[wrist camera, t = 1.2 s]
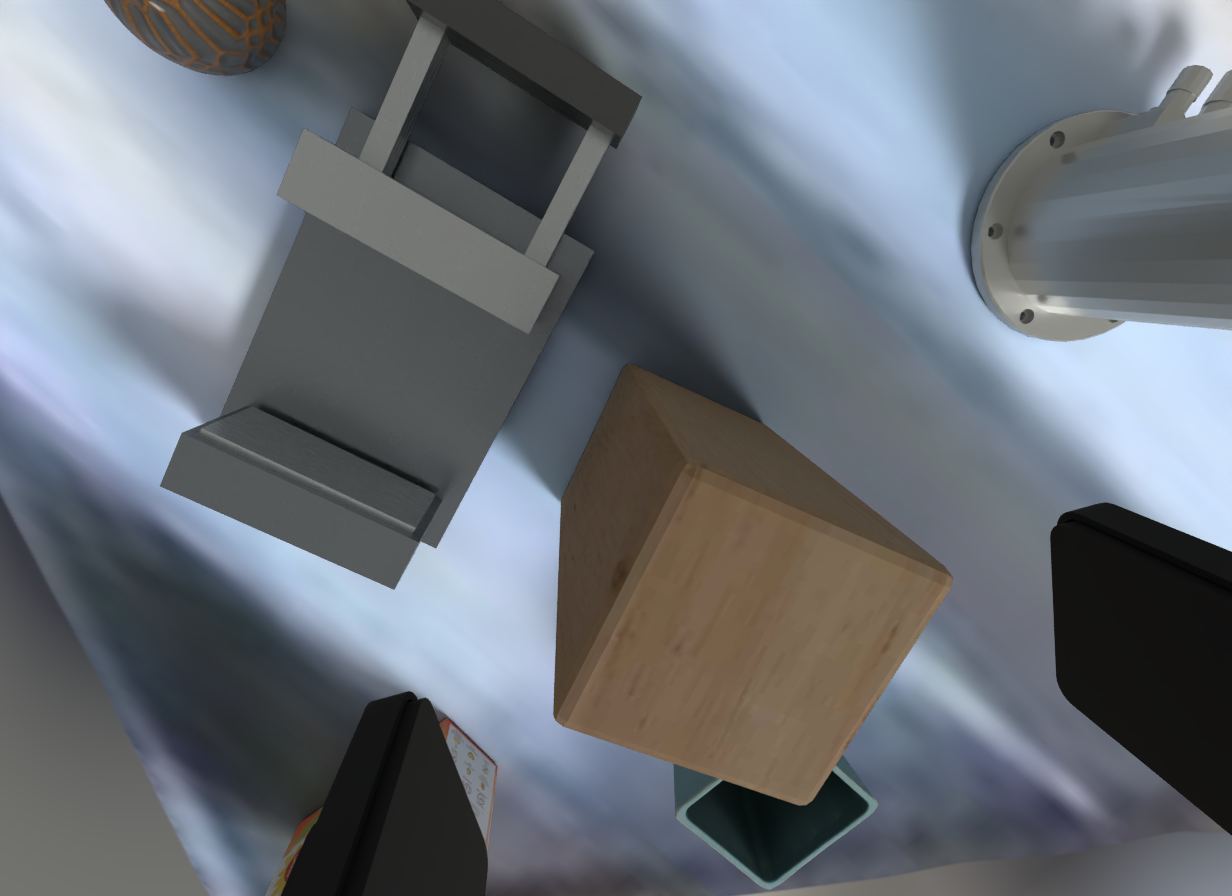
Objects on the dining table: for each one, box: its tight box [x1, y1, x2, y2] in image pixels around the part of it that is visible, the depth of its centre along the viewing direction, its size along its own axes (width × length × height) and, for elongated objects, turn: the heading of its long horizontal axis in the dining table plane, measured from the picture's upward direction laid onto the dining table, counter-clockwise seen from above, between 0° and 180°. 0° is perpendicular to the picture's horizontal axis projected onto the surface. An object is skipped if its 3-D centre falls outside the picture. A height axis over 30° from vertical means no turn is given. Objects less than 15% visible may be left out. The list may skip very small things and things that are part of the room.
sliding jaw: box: [277, 0, 642, 334], centre depth 29 cm, size 12×12×6 cm
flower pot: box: [674, 755, 878, 890], centre depth 40 cm, size 9×9×9 cm
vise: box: [160, 107, 595, 589], centre depth 32 cm, size 20×14×7 cm
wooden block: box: [553, 364, 953, 805], centre depth 29 cm, size 10×10×20 cm
